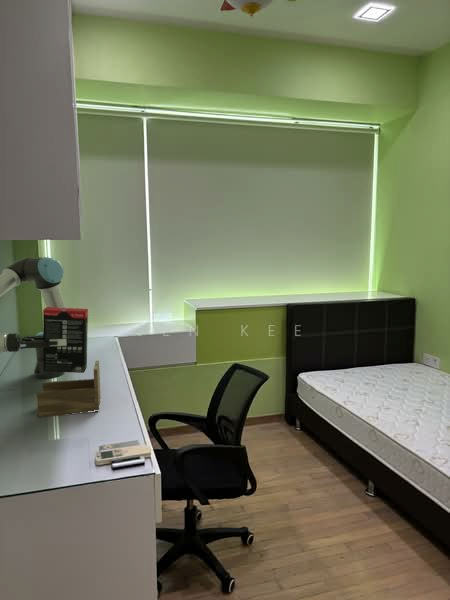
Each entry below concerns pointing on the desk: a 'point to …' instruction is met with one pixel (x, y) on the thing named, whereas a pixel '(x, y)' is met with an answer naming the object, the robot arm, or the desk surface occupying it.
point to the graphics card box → (72, 329)
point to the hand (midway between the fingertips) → (67, 340)
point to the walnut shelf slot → (70, 396)
